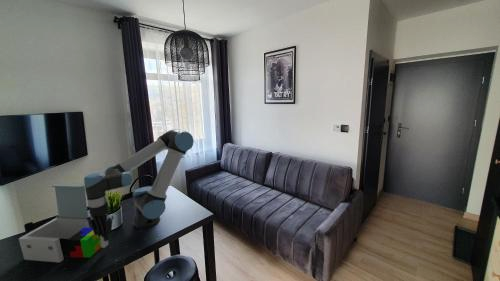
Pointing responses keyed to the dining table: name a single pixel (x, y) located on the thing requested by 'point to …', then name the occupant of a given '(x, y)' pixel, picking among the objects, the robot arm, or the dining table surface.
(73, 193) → the lid
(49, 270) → the dining table surface
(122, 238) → the dining table surface
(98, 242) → the puzzle toy
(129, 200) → the dining table surface
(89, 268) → the dining table surface
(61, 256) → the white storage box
